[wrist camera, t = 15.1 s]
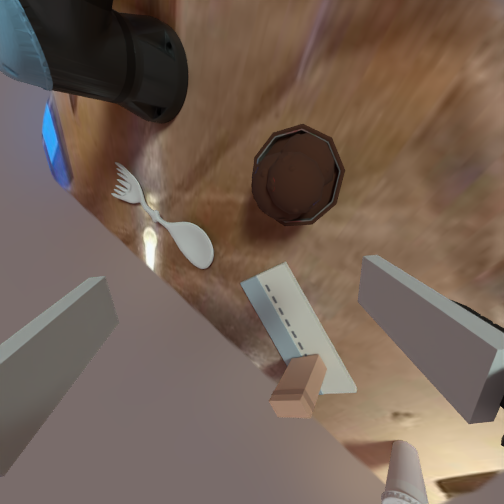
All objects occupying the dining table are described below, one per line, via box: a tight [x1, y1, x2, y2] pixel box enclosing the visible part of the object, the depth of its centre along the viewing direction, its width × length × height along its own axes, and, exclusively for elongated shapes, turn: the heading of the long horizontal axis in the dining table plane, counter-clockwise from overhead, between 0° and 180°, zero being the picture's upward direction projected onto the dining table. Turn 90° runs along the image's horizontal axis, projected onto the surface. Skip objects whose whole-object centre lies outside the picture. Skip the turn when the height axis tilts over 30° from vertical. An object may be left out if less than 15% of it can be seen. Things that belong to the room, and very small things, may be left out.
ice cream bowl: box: [251, 124, 345, 226], centre depth 28 cm, size 11×11×15 cm
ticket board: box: [240, 262, 357, 395], centre depth 44 cm, size 26×11×1 cm, turn 34°
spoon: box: [111, 162, 214, 269], centre depth 52 cm, size 9×32×4 cm, turn 59°
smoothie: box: [381, 440, 429, 504], centre depth 35 cm, size 6×6×14 cm
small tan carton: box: [269, 355, 327, 418], centre depth 39 cm, size 3×6×10 cm, turn 124°
